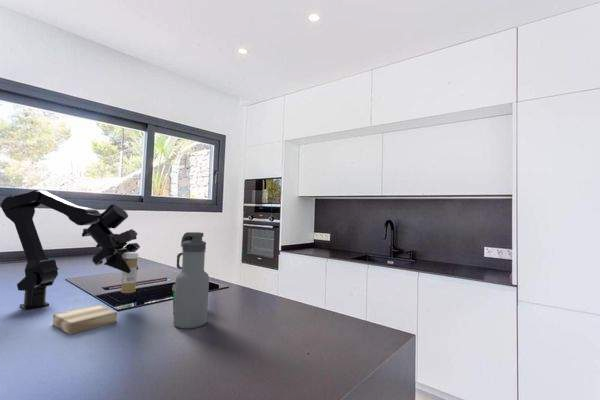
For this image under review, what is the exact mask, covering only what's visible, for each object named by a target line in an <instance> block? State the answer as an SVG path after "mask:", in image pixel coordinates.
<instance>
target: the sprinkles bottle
mask: <svg viewBox="0 0 600 400" xmlns="http://www.w3.org/2000/svg"><path fill="white" fill-rule="evenodd" d="M123 258H124V259H123V260H124V261H125V263H126V264H127V265H128V267H129V268H130V270H131V272H130V273H126V272H123V271H121V272H122V274H121V275H122V277H121V289H120V292H121V293H122V294H131V293H135V292H136V291H137V290H136V285H137V273H138V272H137V271H138V270H137V266H138V259H139V252H138V251H136V252H126V253H124V254H123Z"/></svg>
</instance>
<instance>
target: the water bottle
mask: <svg viewBox="0 0 600 400" xmlns="http://www.w3.org/2000/svg"><path fill="white" fill-rule="evenodd" d="M204 234H205V233H204V232H200V231H199V232H198V231H190V232H189V231H188V232H185V233H184V234H183V236H182V237H181V242H180V247H181V249H182V251H181V252H180V253H178V254H177V256H176V268H177V269H179V270H181V271H180V272H179V273H177V275H176V277H175V283H174V284H175V303H174V314H173V326H175V327H177V328H178V329H182V330H184V329H185V330H187V329H189V330H190V329H196V328H199V327H202V326H204V325H206V323H207V321H208V310H209V309H208V307H209V289H210V288H209V287H210V285H209V284H210V276H209V273H207V272H206V271H205V259H206V255H205V254H206V252H207V251H206V250H207V249H206V247H207V242H206V241H204V240H203V237H204ZM181 256H182V261H181V266H180V260H181Z"/></svg>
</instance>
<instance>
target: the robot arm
mask: <svg viewBox="0 0 600 400" xmlns="http://www.w3.org/2000/svg"><path fill="white" fill-rule="evenodd" d="M41 205H42V206H46V207H47V208H49V209H51V210H54V211H56V212H58V213H61V214H63V215H65V216H66V217H67V218H68V219H69V221H71V222H72V223H74V224H75V225H77V226H89V227H87V228H83V229H82V233H81V237H82V238H84V237H91V238H92V240H93V241H94V242H95V243H96V245H95V248H97V249H100V250H99V251H98V252H96V253H95V254H94V255H93V256H92V259H91V261H92V263H93V264H94V265H95V266H99V265H102V264H103V263H104V264H103V265H104V266H109V267H111V268H114V269H116V270H119V271H121V272H126V273H130V272H131V270H130V268H129V267H128V265H127V264H126V263H125V261H124V260H123V259H124V258H123V254H124V253H126V252H138V250H139V249H141V246H140V244H139V243H138V242H132V243H131V241H134V240H137V237H138V236H137V235H138V232H137V231H136V230H134V229H133V228H132V229H129V230H126V231H124V232H120V233H114V232H113V231H112V230H111V229H117V228H118V227H119V226H120V225H121V224H122V223H123V222H124V221H126V220H127V219H128V218H129V215H128V212H127V211H126V210H124V209H123V208H121V207H119V206H117V204H113V203H111V204H110V205H109V206H108V207H107V209H105V210H104V211H103V212H102V213H101V212H99V210H98V209H95V208H91V207H87V206H80V205H77V204H74V203H73V202H70V201H67V200H65V199H64V198H60V197H58V196H57V195H55V194H52V193H50V192H49V191H47V190H39V189H35V190H31V191H29V192H26V193H21V194H17V195H14V196H13V195H12V196H11V195H10V196H7V197H5V198H4V199H3V200H2V201H1V203H0V207H1V210H2V212H3V214H4V216H5V217H6V218H7V219H9V220H10V221H11V222H12V223H14V227H15V229H16V232H17V235H18V238H19V241H20V244H21V246H22V250H23V253H24V255H25V258H26V265H25V268H24V274H25V276H24V277H23V278H22V279H21V280H20V281H18V283H16V287H17V290H18V291H24V294H23V295H24V297H23V303H20V304H19V307H21V308H23V309H24V310H30V309H35V308H41V307H46V306H49V305H50V303H49V302H46V301H47V300H46V298H47V287H51V286H53V285H54V282H55V280H57V279H56V278H57V277H58V276H59V272H58V270H59V267H58V266H57V262H56V259H54V258H52V259H49V258H48V257H47V256H46V254H45V251H44V248H43V245H42V242H41V240H40V237H39V234H38V231H37V229H36V225H35V223H34V220H33V219H34V216H35V213H36V208H38V207H40V206H41ZM129 242H130V243H129ZM104 259H105V261H106V262H103V260H104ZM138 270H139V266H138V265H137V271H138Z"/></svg>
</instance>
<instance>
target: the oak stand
mask: <svg viewBox="0 0 600 400" xmlns="http://www.w3.org/2000/svg"><path fill="white" fill-rule="evenodd" d="M117 313H118V312H117V311H115V310H112V309H109V308H106V307H104V306H102V305H99V304H96V305H92V306H91V305H90V306H85V307H81V308H77V309H72V310H67V311H62V312H58V313H53V315H52V316H53V317H52V325H53V326H55V327H56V328H58V329H60V330H62V331H63V332H65V333H67V334H69V335H74V334H77V333H81V332H85V331H88V330H92V329H96V328H100V327H103V326H108V325H111V324H114V323H117V320H118V319H117V318H118V316H117V315H118V314H117Z"/></svg>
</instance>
